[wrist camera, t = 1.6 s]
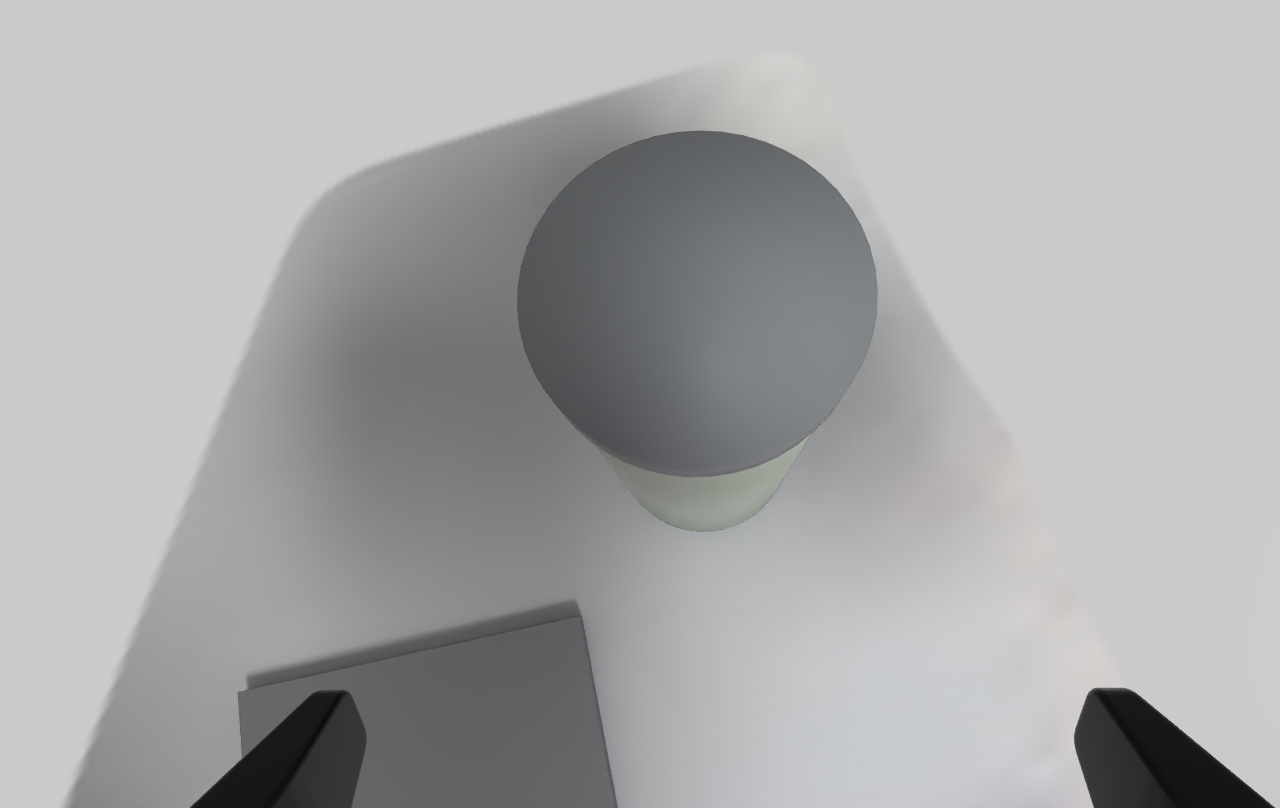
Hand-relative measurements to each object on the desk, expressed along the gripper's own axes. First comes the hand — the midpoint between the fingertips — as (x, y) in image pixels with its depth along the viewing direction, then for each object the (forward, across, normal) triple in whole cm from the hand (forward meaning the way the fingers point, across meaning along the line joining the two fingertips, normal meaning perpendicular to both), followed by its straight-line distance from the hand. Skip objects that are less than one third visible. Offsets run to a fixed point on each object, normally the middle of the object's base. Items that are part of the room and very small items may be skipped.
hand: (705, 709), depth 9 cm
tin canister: (+13, 0, +5) cm, 13 cm away
